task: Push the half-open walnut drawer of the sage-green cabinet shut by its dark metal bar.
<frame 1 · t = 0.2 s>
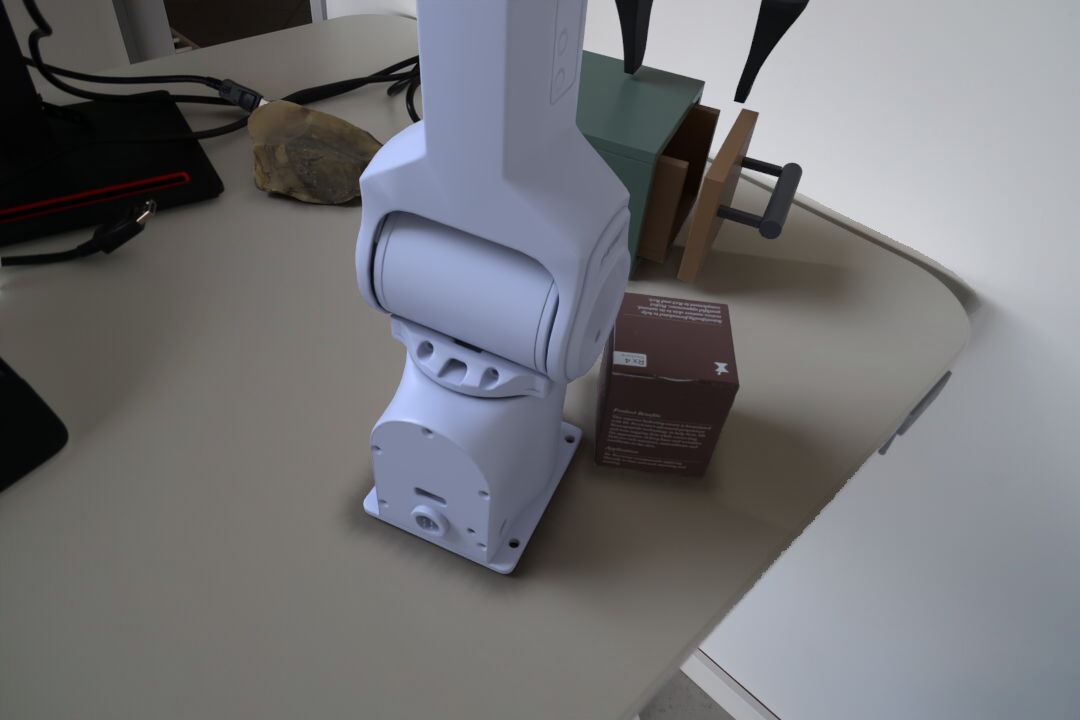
hand: (686, 82, 50), 10 cm above the table, tool pointing down, fingers open, 7 cm apart
drawer: (668, 179, 51), point 5 cm above the table, slide at 3.0 cm
cabinet: (569, 210, 56), on the table
box: (646, 433, 41), on the table
decorative stone: (318, 172, 57), on the table
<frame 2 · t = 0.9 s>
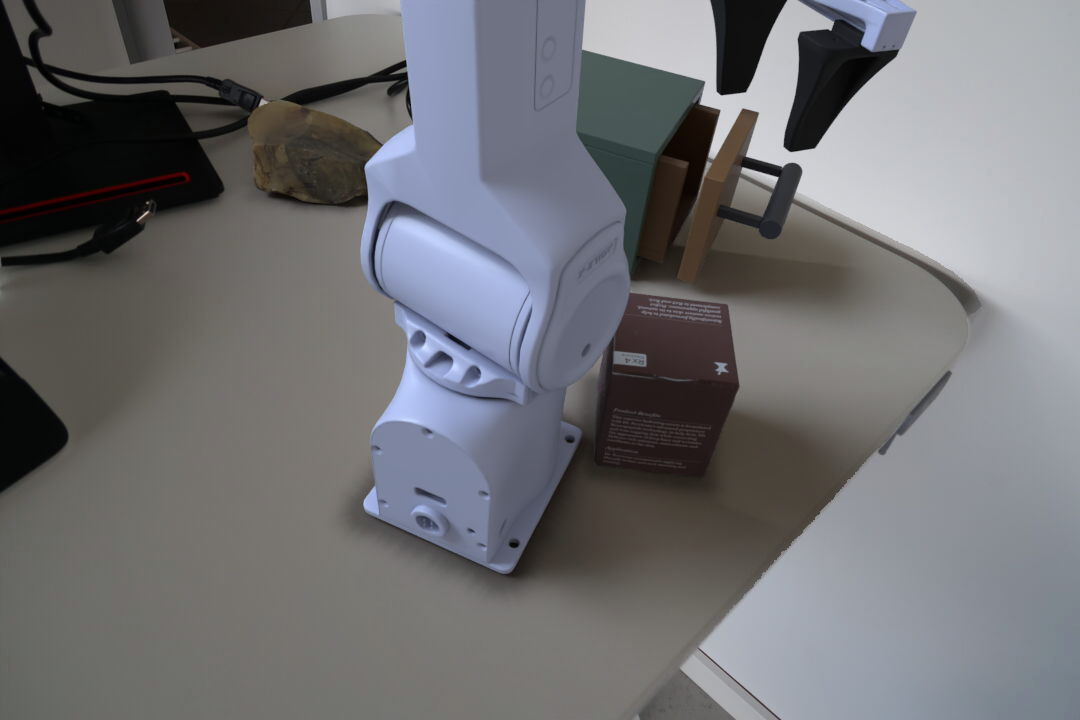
hand: (763, 118, 47), 10 cm above the table, tool pointing down, fingers open, 7 cm apart
nothing on the table moved.
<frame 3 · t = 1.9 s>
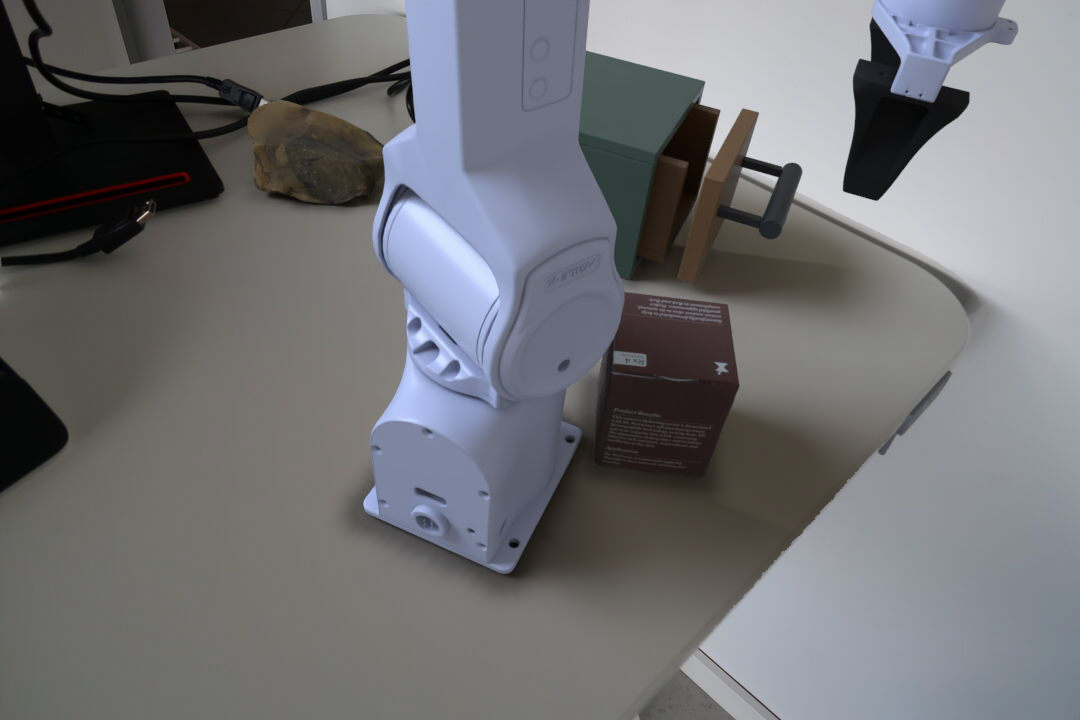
hand: (866, 167, 45), 9 cm above the table, tool pointing down, fingers open, 6 cm apart
nothing on the table moved.
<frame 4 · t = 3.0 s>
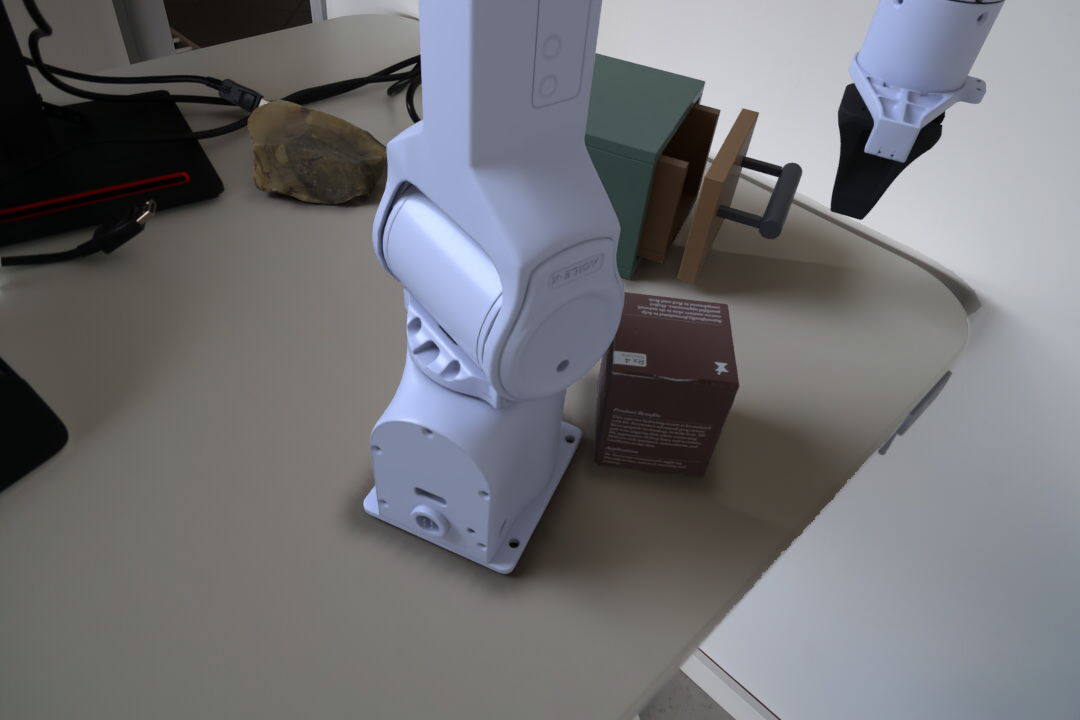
hand: (847, 210, 47), 6 cm above the table, tool pointing down, fingers closed
nothing on the table moved.
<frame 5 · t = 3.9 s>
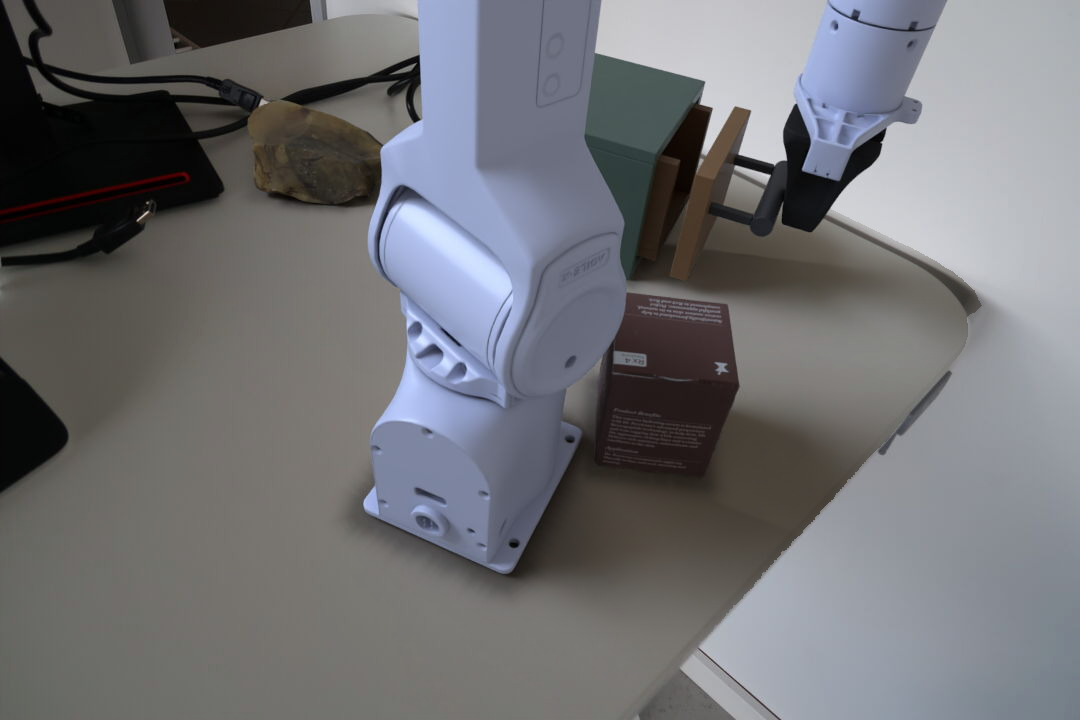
hand: (798, 223, 49), 4 cm above the table, tool pointing down, fingers closed, pressing on drawer
drawer: (660, 177, 51), point 5 cm above the table, slide at 2.4 cm, touching gripper
everything else where it was.
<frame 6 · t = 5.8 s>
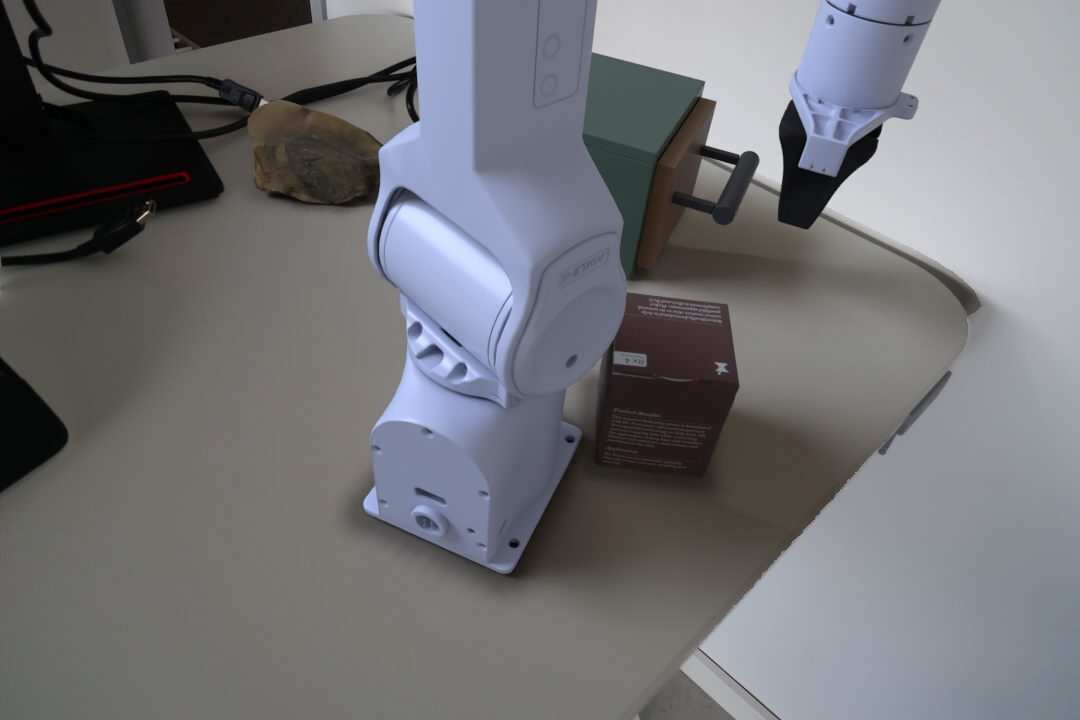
hand: (794, 220, 48), 5 cm above the table, tool pointing down, fingers closed
drawer: (627, 167, 51), point 5 cm above the table, slide at 0.0 cm
everything else where it was.
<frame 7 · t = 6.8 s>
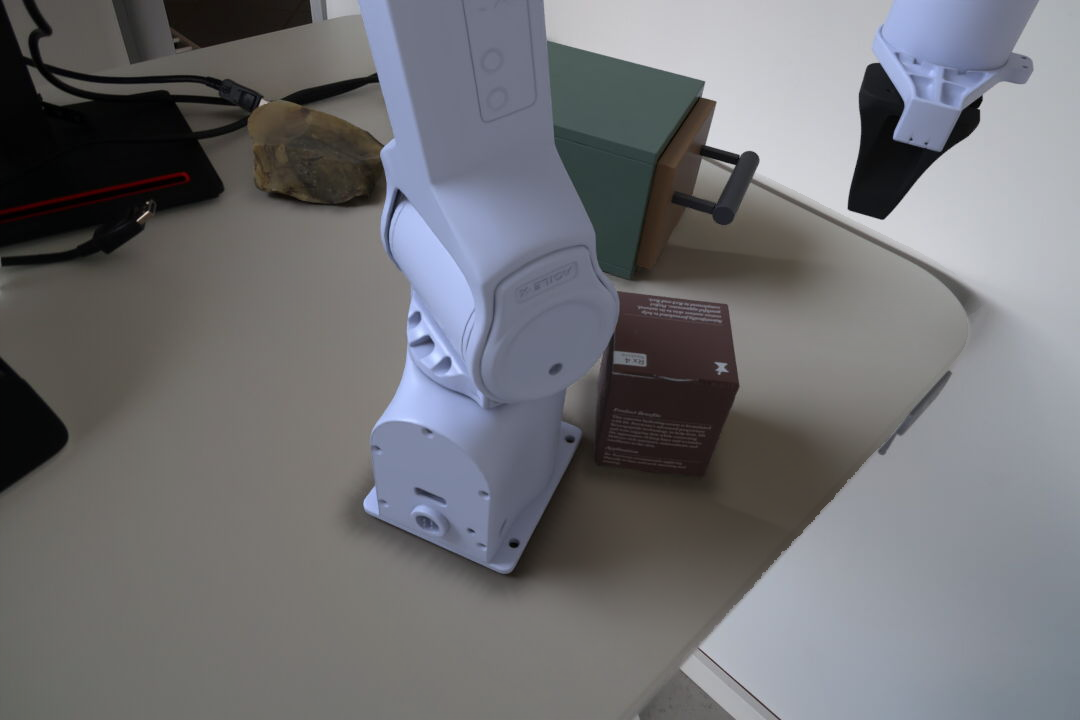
hand: (866, 209, 41), 9 cm above the table, tool pointing down, fingers closed
nothing on the table moved.
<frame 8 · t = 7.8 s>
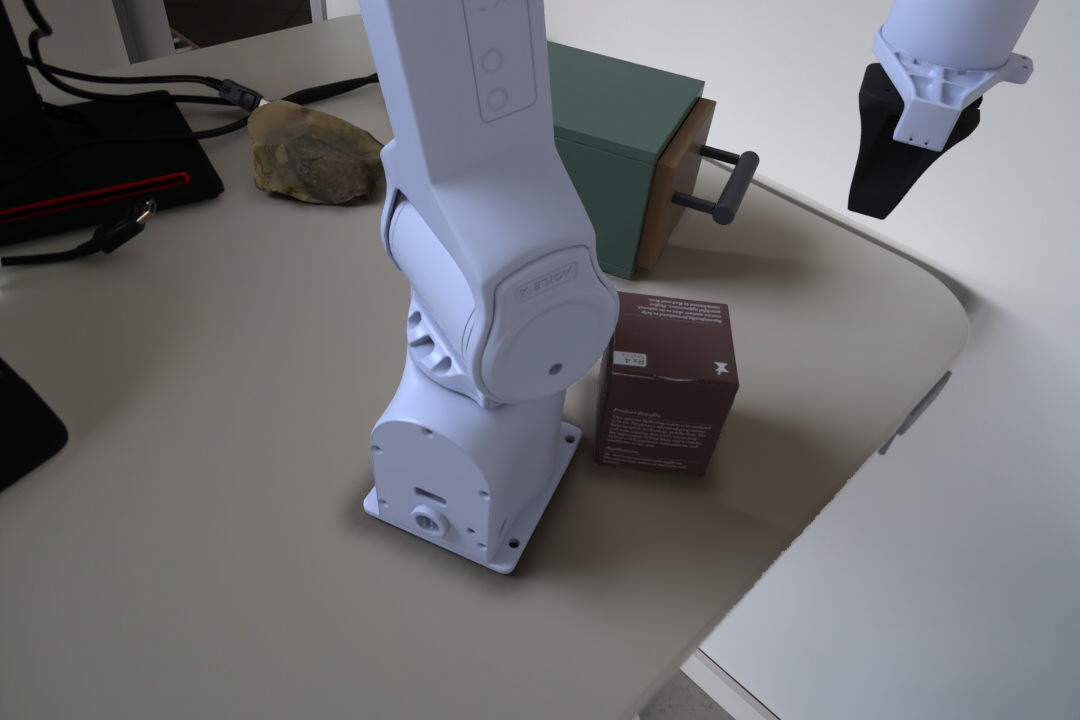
hand: (866, 209, 41), 9 cm above the table, tool pointing down, fingers closed
nothing on the table moved.
at the end: drawer slide at 0.0 cm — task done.
